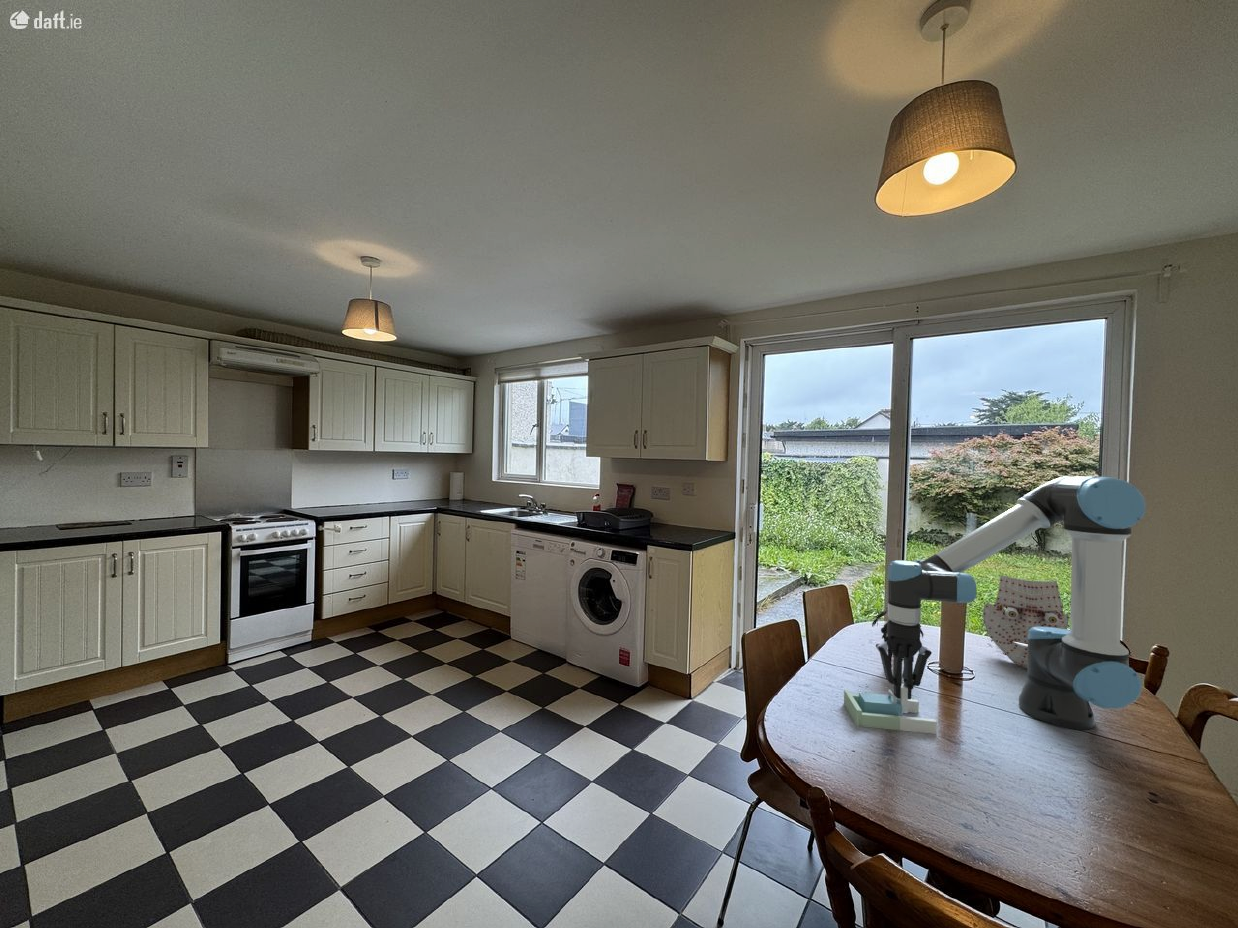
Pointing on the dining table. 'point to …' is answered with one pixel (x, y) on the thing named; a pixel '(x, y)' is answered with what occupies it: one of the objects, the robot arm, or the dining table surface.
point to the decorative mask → (1022, 614)
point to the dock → (888, 717)
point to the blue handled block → (880, 704)
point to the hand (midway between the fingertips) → (902, 710)
